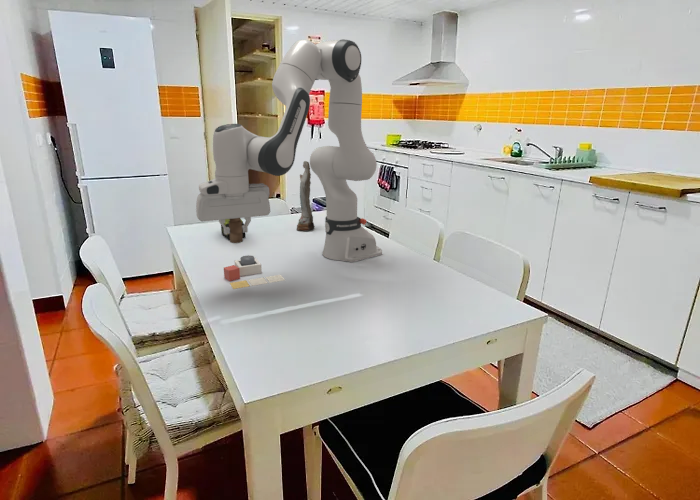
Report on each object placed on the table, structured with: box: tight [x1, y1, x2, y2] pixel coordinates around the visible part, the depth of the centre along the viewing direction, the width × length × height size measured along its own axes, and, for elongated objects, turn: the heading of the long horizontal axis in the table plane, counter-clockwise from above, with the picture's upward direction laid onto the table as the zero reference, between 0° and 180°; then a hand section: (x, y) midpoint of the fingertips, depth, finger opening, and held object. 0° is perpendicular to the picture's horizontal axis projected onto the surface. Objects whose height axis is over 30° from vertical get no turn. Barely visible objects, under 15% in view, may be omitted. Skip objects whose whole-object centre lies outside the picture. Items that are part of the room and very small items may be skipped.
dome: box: [239, 254, 255, 266], centre depth 137 cm, size 4×4×4 cm
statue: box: [296, 160, 315, 232], centre depth 184 cm, size 8×7×30 cm
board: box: [229, 274, 286, 290], centre depth 134 cm, size 17×20×1 cm
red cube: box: [223, 264, 241, 282], centre depth 131 cm, size 4×4×4 cm
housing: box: [233, 257, 263, 277], centre depth 137 cm, size 7×7×3 cm
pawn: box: [229, 218, 244, 244], centre depth 121 cm, size 4×4×8 cm
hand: (235, 232), depth 122 cm, fingers closed on pawn, 4 cm apart
